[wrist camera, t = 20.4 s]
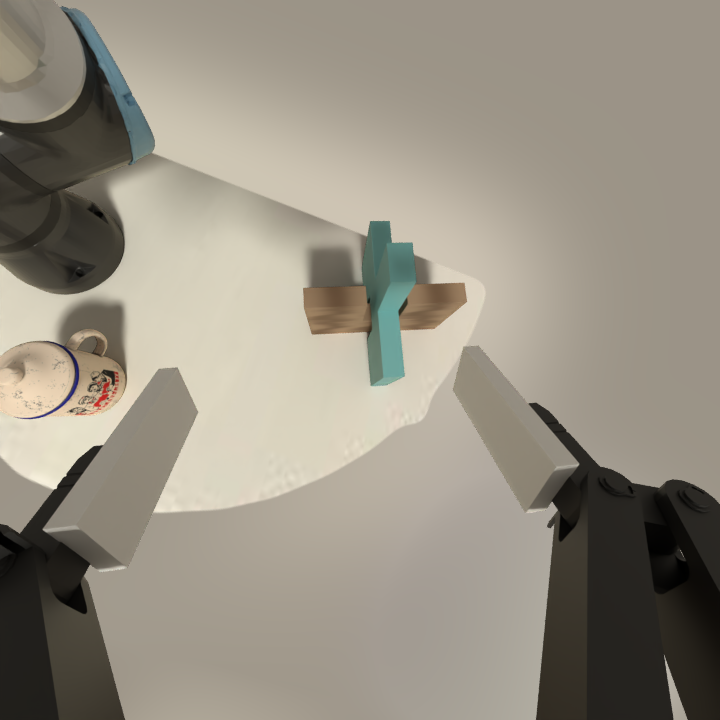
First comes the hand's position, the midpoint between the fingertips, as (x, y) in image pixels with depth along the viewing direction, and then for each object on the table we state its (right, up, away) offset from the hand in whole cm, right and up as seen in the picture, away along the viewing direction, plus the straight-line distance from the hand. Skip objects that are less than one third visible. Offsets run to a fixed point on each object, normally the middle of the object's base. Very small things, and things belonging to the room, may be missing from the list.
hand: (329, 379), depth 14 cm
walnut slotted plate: (+4, +7, +33) cm, 34 cm away
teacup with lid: (-36, -2, +28) cm, 46 cm away
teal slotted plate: (+4, +7, +33) cm, 34 cm away
